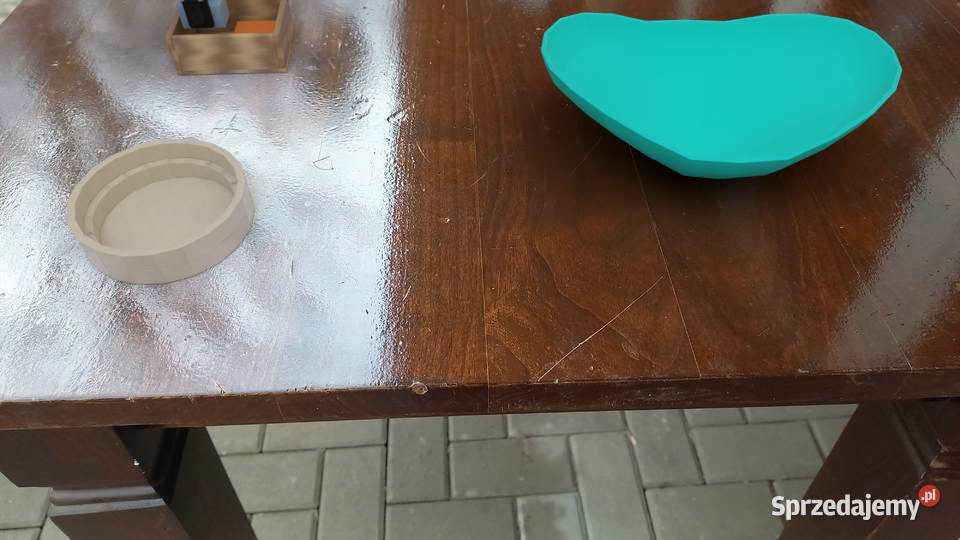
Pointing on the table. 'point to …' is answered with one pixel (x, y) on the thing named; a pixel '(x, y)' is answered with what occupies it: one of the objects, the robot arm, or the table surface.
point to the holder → (234, 42)
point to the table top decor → (722, 85)
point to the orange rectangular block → (255, 27)
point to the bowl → (161, 211)
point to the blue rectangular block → (217, 9)
